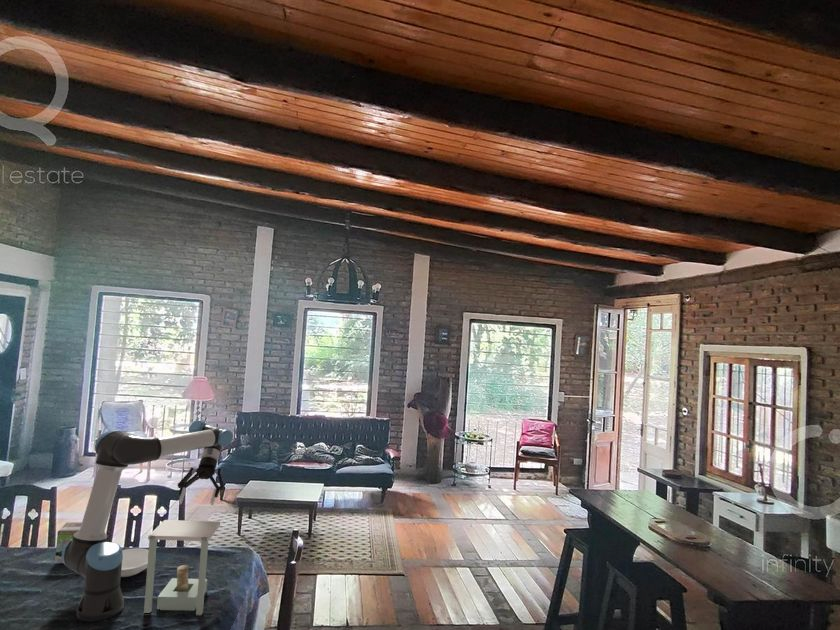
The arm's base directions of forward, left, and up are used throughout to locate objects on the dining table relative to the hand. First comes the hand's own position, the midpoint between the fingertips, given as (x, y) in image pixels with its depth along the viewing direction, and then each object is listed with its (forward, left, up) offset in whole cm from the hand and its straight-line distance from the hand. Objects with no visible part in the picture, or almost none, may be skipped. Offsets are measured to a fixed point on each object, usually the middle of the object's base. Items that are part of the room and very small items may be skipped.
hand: (195, 503), depth 227 cm
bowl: (-25, -4, -30) cm, 39 cm away
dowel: (+5, -24, -28) cm, 37 cm away
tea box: (-52, +8, -30) cm, 61 cm away
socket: (+5, -25, -30) cm, 39 cm away
